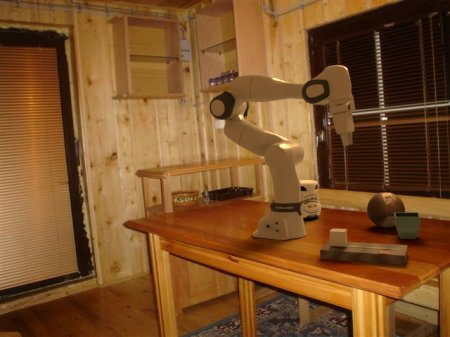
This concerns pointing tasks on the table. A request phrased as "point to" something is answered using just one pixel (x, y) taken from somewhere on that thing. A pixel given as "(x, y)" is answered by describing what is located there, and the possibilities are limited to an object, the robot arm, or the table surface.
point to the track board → (366, 253)
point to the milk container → (310, 199)
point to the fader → (338, 237)
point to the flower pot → (407, 224)
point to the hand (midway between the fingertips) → (348, 145)
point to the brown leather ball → (384, 209)
